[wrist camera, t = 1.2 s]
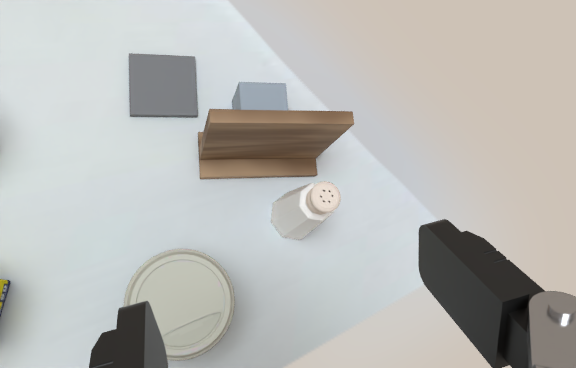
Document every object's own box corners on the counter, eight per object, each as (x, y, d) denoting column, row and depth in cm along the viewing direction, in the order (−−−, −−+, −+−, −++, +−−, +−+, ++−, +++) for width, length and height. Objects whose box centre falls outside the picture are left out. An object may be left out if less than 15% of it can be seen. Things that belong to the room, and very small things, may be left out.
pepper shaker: (302, 249, 50) (339, 238, 40) (260, 224, 50) (286, 206, 40) (324, 208, 52) (364, 187, 42) (284, 183, 52) (314, 155, 41)
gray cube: (279, 143, 53) (291, 128, 48) (234, 143, 51) (242, 127, 47) (276, 102, 54) (287, 83, 49) (232, 101, 52) (239, 81, 48)
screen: (314, 176, 53) (356, 143, 42) (200, 178, 49) (211, 144, 38) (310, 134, 54) (350, 92, 43) (197, 134, 50) (208, 88, 39)
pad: (197, 117, 51) (197, 115, 50) (130, 116, 49) (129, 114, 48) (194, 59, 52) (194, 56, 52) (129, 56, 50) (128, 53, 50)
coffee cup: (121, 340, 44) (108, 355, 33) (143, 251, 46) (137, 237, 35) (210, 352, 46) (226, 371, 34) (227, 266, 48) (247, 257, 37)
